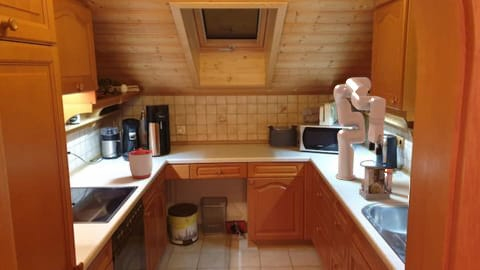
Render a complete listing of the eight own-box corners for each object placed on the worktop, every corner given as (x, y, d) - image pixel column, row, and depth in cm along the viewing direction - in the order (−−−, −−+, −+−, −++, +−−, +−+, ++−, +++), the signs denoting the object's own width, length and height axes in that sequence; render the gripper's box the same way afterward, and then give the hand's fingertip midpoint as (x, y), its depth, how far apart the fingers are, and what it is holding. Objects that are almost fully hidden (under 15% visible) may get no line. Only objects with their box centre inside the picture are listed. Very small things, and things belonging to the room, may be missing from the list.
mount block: (361, 187, 223) (361, 179, 223) (376, 187, 224) (376, 178, 223) (366, 192, 214) (367, 183, 214) (382, 191, 215) (382, 183, 214)
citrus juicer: (130, 174, 263) (128, 145, 260) (155, 173, 264) (154, 145, 260) (124, 180, 248) (122, 150, 245) (150, 179, 248) (149, 149, 245)
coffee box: (379, 193, 210) (380, 165, 207) (384, 197, 204) (385, 168, 201) (363, 194, 210) (364, 165, 207) (367, 198, 203) (368, 168, 201)
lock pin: (382, 191, 215) (384, 169, 213) (389, 191, 215) (391, 169, 213) (385, 193, 211) (386, 170, 209) (392, 193, 212) (394, 170, 209)
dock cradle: (359, 194, 211) (359, 188, 211) (382, 193, 212) (382, 188, 211) (365, 199, 201) (365, 194, 201) (389, 199, 202) (389, 193, 201)
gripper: (364, 118, 208) (362, 149, 212) (376, 124, 191) (374, 156, 195) (377, 118, 209) (375, 148, 212) (391, 123, 192) (388, 156, 195)
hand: (375, 152), depth 203 cm, fingers open, 9 cm apart
